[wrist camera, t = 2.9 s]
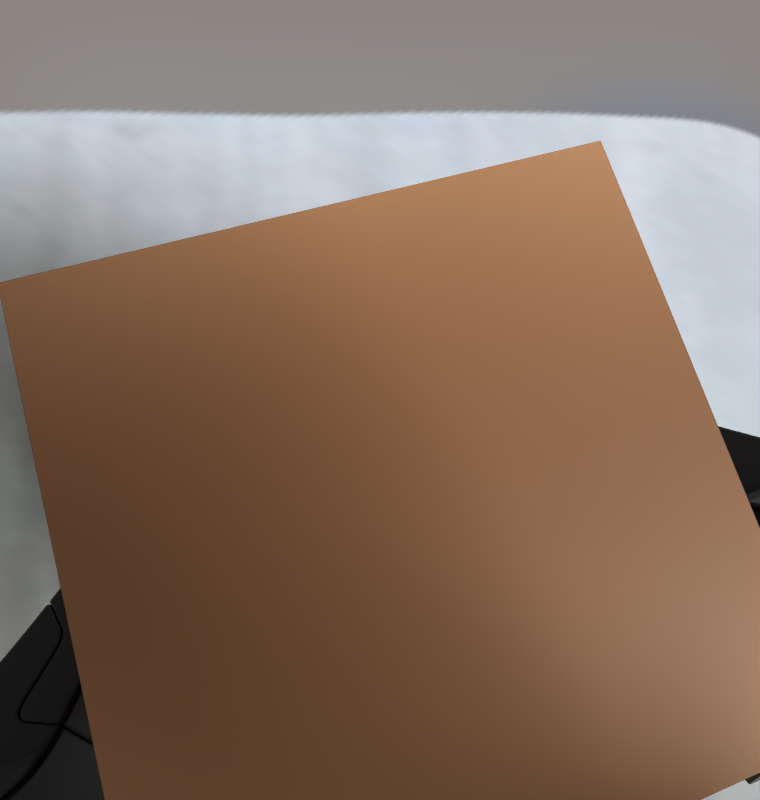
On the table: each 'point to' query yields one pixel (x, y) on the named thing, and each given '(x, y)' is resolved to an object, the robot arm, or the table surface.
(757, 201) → the table surface
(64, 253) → the table surface
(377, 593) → the plug
